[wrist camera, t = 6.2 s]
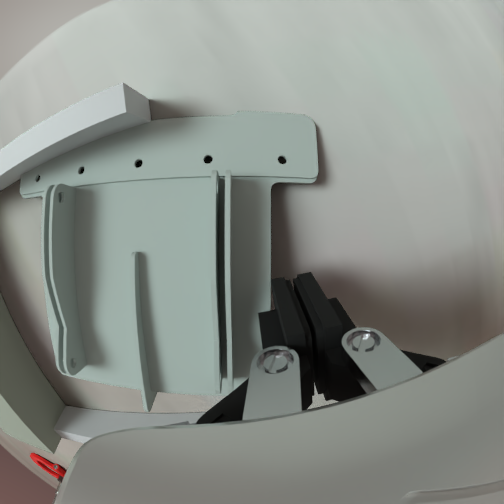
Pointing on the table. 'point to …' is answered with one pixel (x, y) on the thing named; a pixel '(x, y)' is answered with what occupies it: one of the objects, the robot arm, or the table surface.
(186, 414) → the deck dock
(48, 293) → the metal bracket
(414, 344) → the table surface
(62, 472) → the tow hook
